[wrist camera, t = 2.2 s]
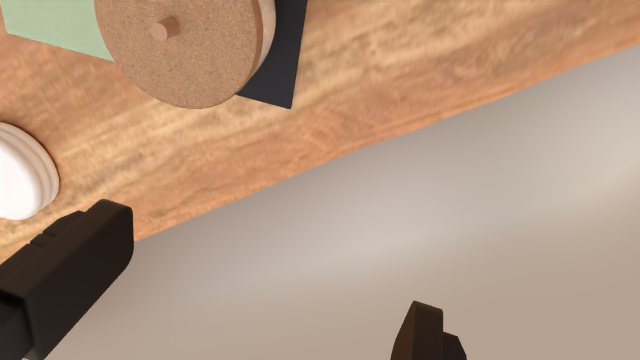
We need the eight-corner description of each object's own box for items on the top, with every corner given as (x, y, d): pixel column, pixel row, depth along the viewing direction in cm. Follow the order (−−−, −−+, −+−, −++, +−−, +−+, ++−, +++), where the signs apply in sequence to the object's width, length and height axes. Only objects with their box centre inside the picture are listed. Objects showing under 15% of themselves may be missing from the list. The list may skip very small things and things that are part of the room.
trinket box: (292, -81, 30) (237, -76, 22) (297, 78, 35) (255, 127, 28) (146, -81, 32) (48, -77, 24) (172, 68, 38) (99, 111, 30)
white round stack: (-42, 141, 48) (-73, 156, 45) (10, 103, 44) (-22, 118, 41) (26, 214, 52) (0, 233, 49) (79, 186, 47) (55, 205, 44)
